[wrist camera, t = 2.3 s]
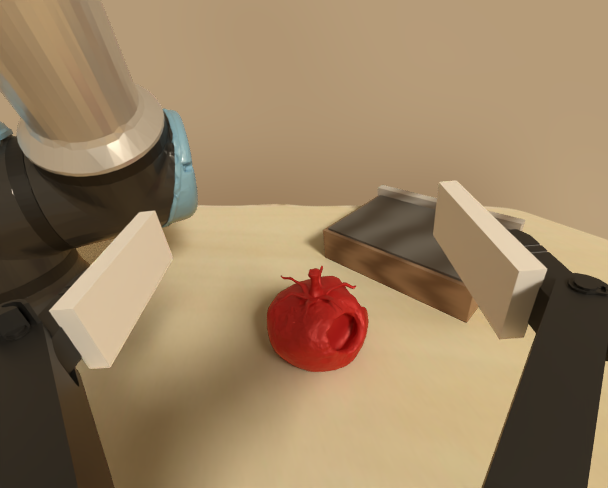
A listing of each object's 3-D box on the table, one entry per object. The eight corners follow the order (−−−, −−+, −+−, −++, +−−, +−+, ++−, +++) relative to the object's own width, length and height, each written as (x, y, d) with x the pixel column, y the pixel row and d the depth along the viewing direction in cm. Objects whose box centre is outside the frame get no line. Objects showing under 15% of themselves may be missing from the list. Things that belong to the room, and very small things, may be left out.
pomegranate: (258, 377, 33) (238, 306, 28) (289, 305, 40) (278, 240, 35) (361, 396, 30) (359, 322, 25) (373, 316, 38) (373, 247, 33)
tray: (325, 257, 48) (322, 221, 45) (381, 217, 56) (382, 184, 53) (466, 322, 35) (476, 278, 32) (513, 260, 43) (525, 219, 40)
